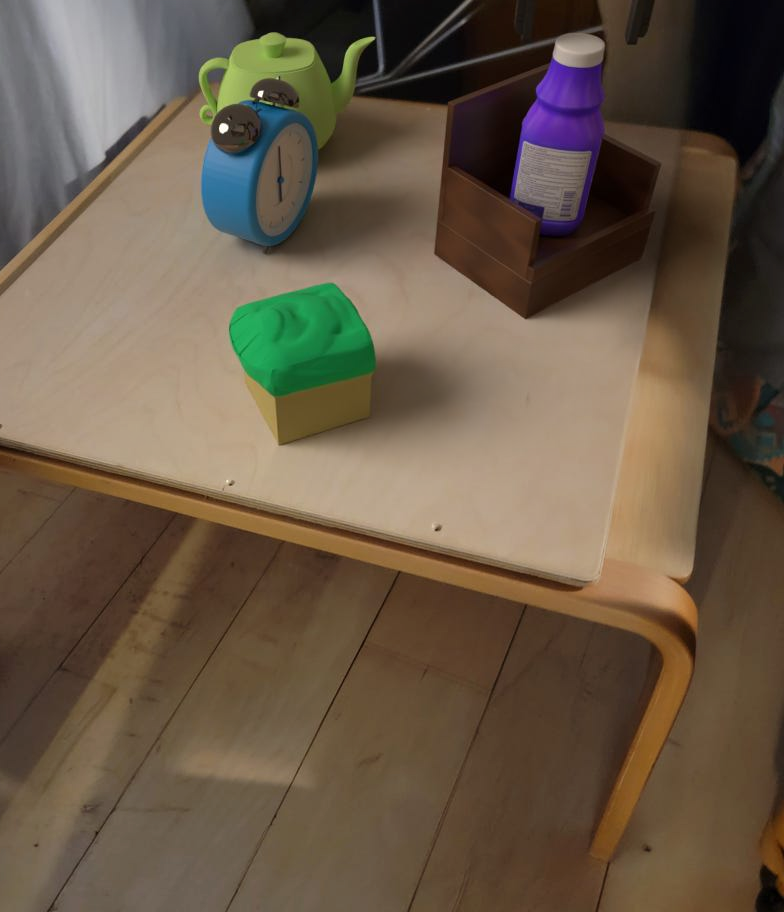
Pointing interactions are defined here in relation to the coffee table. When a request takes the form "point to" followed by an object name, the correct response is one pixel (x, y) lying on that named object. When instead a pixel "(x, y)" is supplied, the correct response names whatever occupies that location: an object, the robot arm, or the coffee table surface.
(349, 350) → the cake
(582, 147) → the bottle
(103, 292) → the coffee table surface
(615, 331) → the coffee table surface
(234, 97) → the teapot
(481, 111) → the box
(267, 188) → the alarm clock
